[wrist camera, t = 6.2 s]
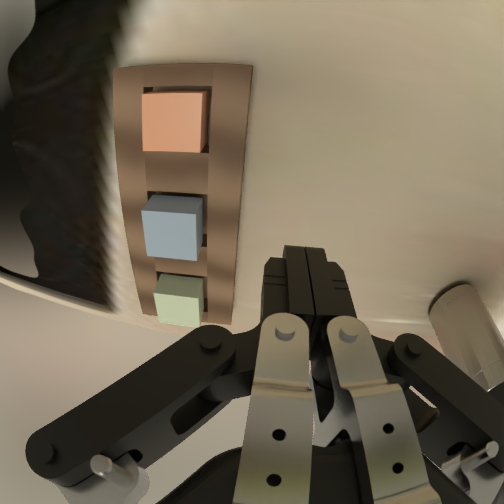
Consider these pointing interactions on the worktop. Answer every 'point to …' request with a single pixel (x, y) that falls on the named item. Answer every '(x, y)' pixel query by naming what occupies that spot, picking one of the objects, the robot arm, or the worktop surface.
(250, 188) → the worktop surface
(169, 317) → the sage green button
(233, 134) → the button panel
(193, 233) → the slate blue button
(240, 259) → the worktop surface
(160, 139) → the terracotta button
